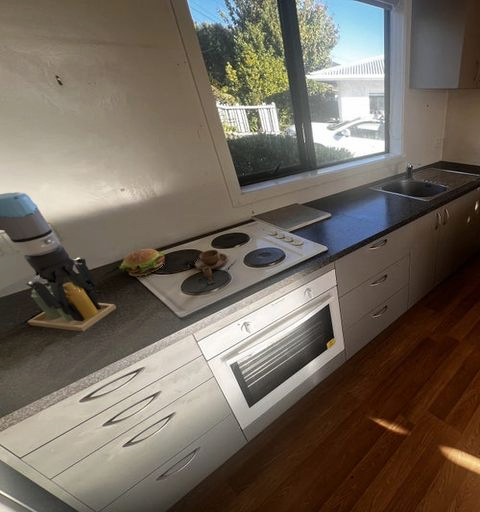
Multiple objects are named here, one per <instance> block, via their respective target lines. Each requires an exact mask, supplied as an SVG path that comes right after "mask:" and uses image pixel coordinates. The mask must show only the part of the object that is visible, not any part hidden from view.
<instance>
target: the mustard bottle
mask: <svg viewBox="0 0 480 512" xmlns="http://www.w3.org/2000/svg"><path fill="white" fill-rule="evenodd" d="M62 285H63V288H64V289H65V290H64V291H65V294H66V297H67V300H68V302H69V303H73V304H74V306H75V307H76V308H77V310H78V311H79V312H80V314H81V315H82V317H83V318H84V319H85V320H86V319H89V318H92V317H93V316H95V315H96V314H97V313H98V310H97V308H96V307H95V305H94V304H93V302H92V301H91V300H90V298H89V297H88V295H87V294H86V292H85V291H84V289H83V288H79V287H78V286H77V285H75V284H74V283H73V282H72V281H69V282H65V283H63V284H62Z"/></svg>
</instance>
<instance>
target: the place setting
mask: <svg viewBox="0 0 480 512" xmlns="http://www.w3.org/2000/svg"><path fill="white" fill-rule="evenodd" d="M198 256H199V257H198V259H199V258H200V259H199V260H198V259H196V260H197V261H196V260H195V261H196V262H195V264H194V266H195V268H196V269H197V270H199V271H202V272H203V275H204V276H205V277H207V280H208V281H212V280H213V279H212V277H211V276H212V273H213V272H212V271H213V269H214V270H217V269H219V268H221V267H223V266H224V265H225V264H226V263H228V260H229V257H228V255H227V254H225V253H222V252H219V250H217V249H209V250H205V251H203V252H201V253H200V254H199V255H198ZM236 262H237V259H235V260H234V261H233V262H232V263H231V264H230V265H228V267H227V268H229V269H230V267H232V266H233V265H234V264H235V263H236ZM187 267H188V268H190V266H189V264H188V265H187ZM227 268H225V269H226V270H225V269H224V270H225V271H224V272H226V271H228V269H227Z"/></svg>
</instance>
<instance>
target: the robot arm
mask: <svg viewBox="0 0 480 512" xmlns="http://www.w3.org/2000/svg"><path fill="white" fill-rule="evenodd" d="M0 231H4V233H5V234H6V235H7V237H8V238H9V240H11V242H12V243H13V244H14V246H15V248H17V250H18V251H19V253H20V254H21V255H23V256H24V259H25V260H26V262H27V263H28V265H29V266H30V267H31V268H32V269H33V270H34V272H35V277H34V278H33V279H32V280H28V281H26V283H25V284H26V285H27V286H29V287H30V288H31V289H32V288H34V289H35V291H36V292H37V293H38V294H39V296H40V297H41V298H42V299H43V301H44V302H45V303H46V304H47V306H48V307H49V308H54V309H59V308H61V309H62V310H63V312H64V313H65V314H67V315H71V316H72V318H73V319H74V320H75V321H84V320H85V319H84V318H83V317H82V315H81V314H80V312H79V311H78V310H77V308H76V307H75V306H74V304H73V303H69V302H68V300H67V297H66V294H65V291H64V288H63V284H64V281H63V280H64V279H66V278H67V279H68V280H69V281H70V282H72V283H73V284H74V285H75V286H78V287H79V288H83V289H84V291H85V292H86V294H87V295H88V297H89V298H90V300H91V301H92V302H93V304H94V305H95V307H96V308H97V310H100V309H101V307H100V305H99V304H98V303H99V302H98V301H97V299H98V296H97V294H96V292H95V291H96V287H97V286H98V285H99V284H98V282H97V280H96V279H95V277H94V275H93V273H91V270H90V269H89V268H88V265H87V262H86V259H85V258H84V257H74V258H71V257H70V255H69V253H68V252H67V250H66V249H65V247H64V246H63V245H61V242H60V240H59V239H58V237H57V235H56V234H55V232H54V231H53V230H52V228H51V227H50V225H49V223H48V222H47V220H46V219H45V217H44V215H43V214H42V213H41V211H40V209H39V207H38V205H37V204H36V203H34V201H33V200H32V198H31V197H30V196H29V195H28V194H26V193H25V192H21V191H19V192H18V191H16V192H4V193H1V194H0ZM74 267H75V269H76V270H77V272H78V273H77V272H76V271H75V270H74ZM79 275H80V276H79ZM43 280H46V282H47V284H48V285H49V286H51V289H52V292H53V295H54V296H53V295H52V293H51V292H50V291H49V290H48V288H47V287H48V286H47V285H45V281H43ZM46 286H47V287H46Z"/></svg>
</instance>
